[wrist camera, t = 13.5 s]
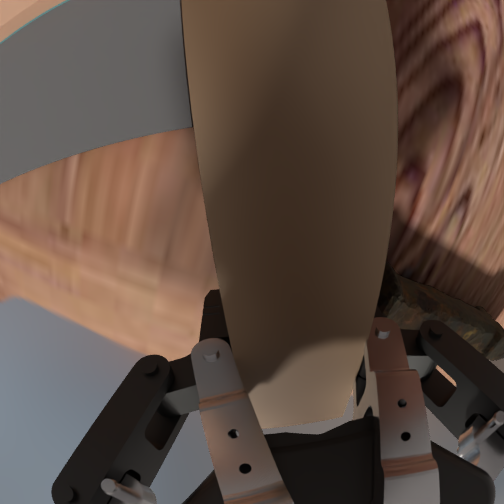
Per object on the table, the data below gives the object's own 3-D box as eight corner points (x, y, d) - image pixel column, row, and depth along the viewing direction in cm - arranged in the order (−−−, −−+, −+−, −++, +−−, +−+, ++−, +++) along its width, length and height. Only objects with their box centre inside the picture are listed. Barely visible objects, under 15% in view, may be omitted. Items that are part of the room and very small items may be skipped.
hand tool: (331, 302, 15) (356, 365, 11) (369, 244, 14) (412, 301, 10) (473, 343, 20) (494, 376, 16) (497, 312, 18) (522, 344, 14)
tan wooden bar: (308, -39, 6) (350, -105, 1) (319, 338, 14) (342, 416, 10) (200, -36, 6) (179, -109, 1) (246, 347, 14) (250, 429, 10)
